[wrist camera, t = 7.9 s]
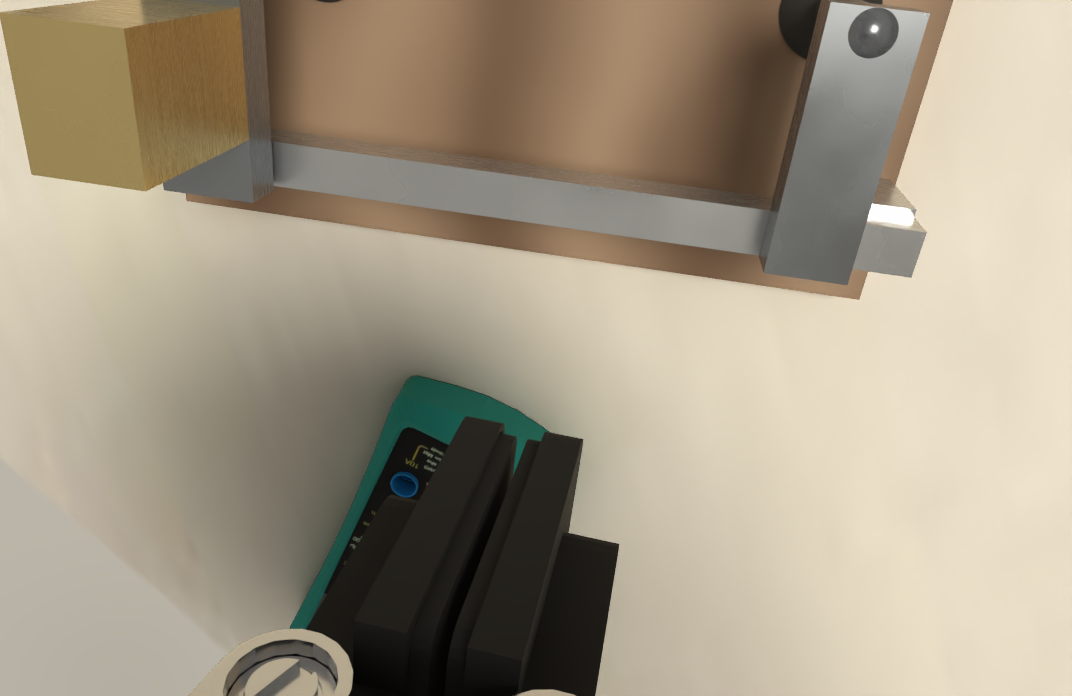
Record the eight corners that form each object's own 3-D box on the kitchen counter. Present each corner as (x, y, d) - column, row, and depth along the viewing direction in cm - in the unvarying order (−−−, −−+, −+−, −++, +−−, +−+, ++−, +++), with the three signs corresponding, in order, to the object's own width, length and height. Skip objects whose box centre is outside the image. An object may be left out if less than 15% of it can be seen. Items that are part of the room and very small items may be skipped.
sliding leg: (317, -68, 22) (111, -66, 14) (324, 157, 25) (155, 266, 17) (232, -77, 22) (-20, -81, 14) (248, 146, 25) (46, 249, 17)
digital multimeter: (591, 438, 31) (583, 483, 29) (447, 664, 38) (430, 718, 36) (419, 353, 31) (395, 391, 28) (306, 598, 38) (278, 647, 35)
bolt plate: (980, -148, 21) (1105, -180, 15) (849, 281, 26) (901, 384, 20) (169, -228, 23) (-12, -285, 17) (209, 188, 28) (85, 257, 22)
